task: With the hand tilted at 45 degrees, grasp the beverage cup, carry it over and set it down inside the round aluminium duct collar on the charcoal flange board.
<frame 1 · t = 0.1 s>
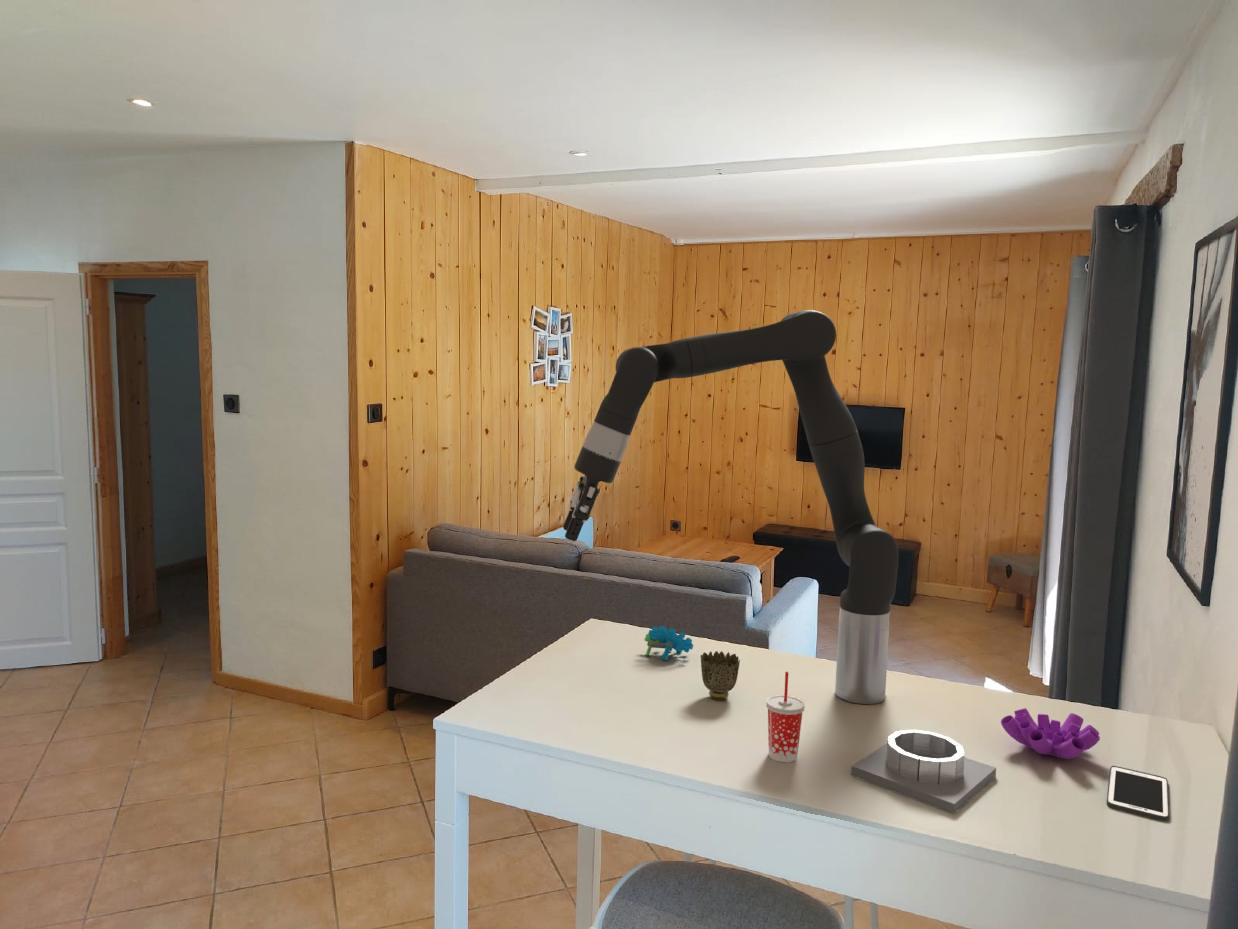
hand: (568, 534, 154), 31 cm above the table, fingers open, 8 cm apart
cell phone: (1137, 797, 128), on the table
beverage cup: (782, 757, 137), on the table
cup: (718, 698, 161), on the table
duct collar: (924, 756, 131), on the flange board, point 3 cm above the table
purple tube coral: (1047, 755, 140), on the table
flange board: (923, 776, 131), on the table
blue toy figure: (667, 657, 184), on the table
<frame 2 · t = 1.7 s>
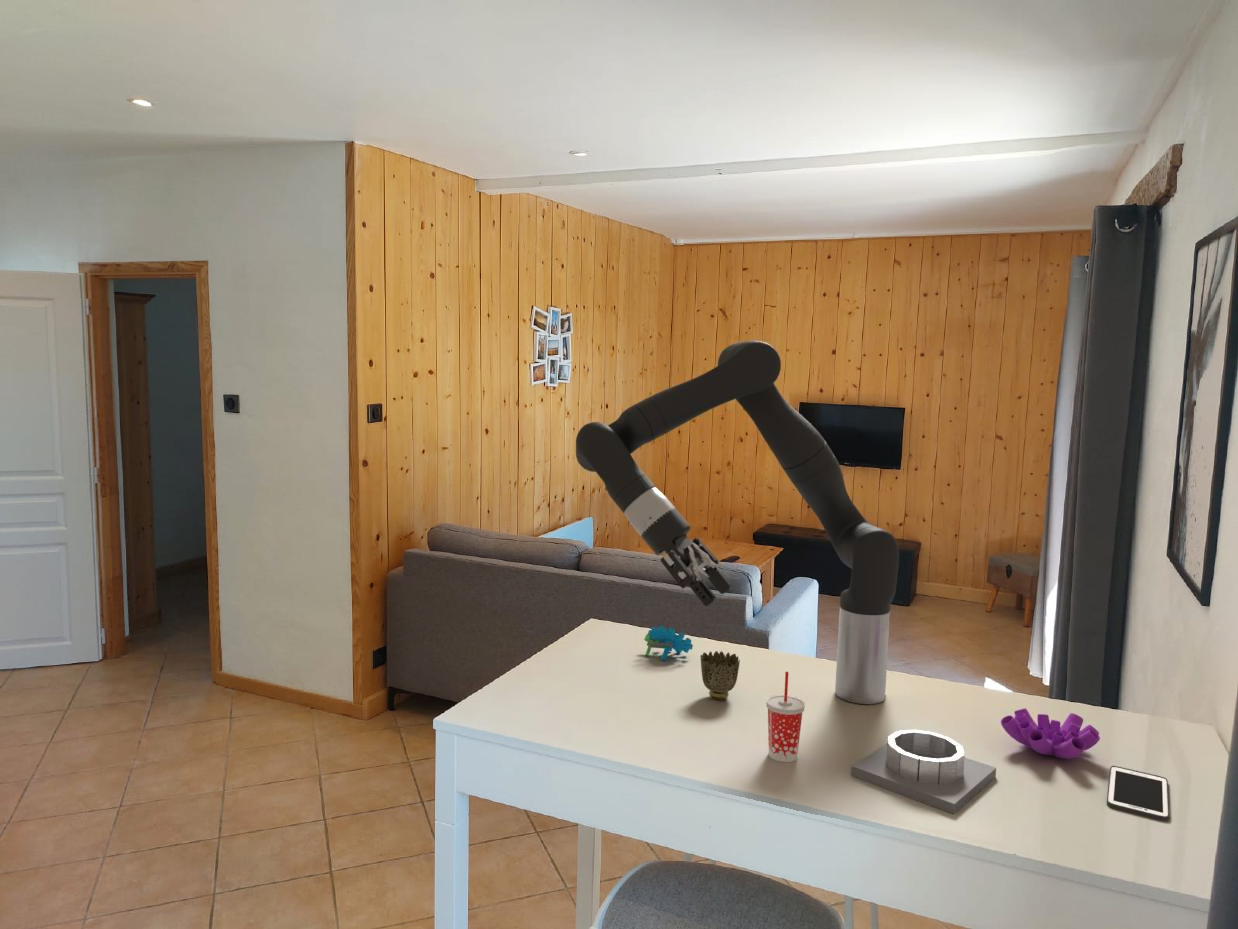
hand: (719, 596, 139), 25 cm above the table, fingers open, 8 cm apart
nothing on the table moved.
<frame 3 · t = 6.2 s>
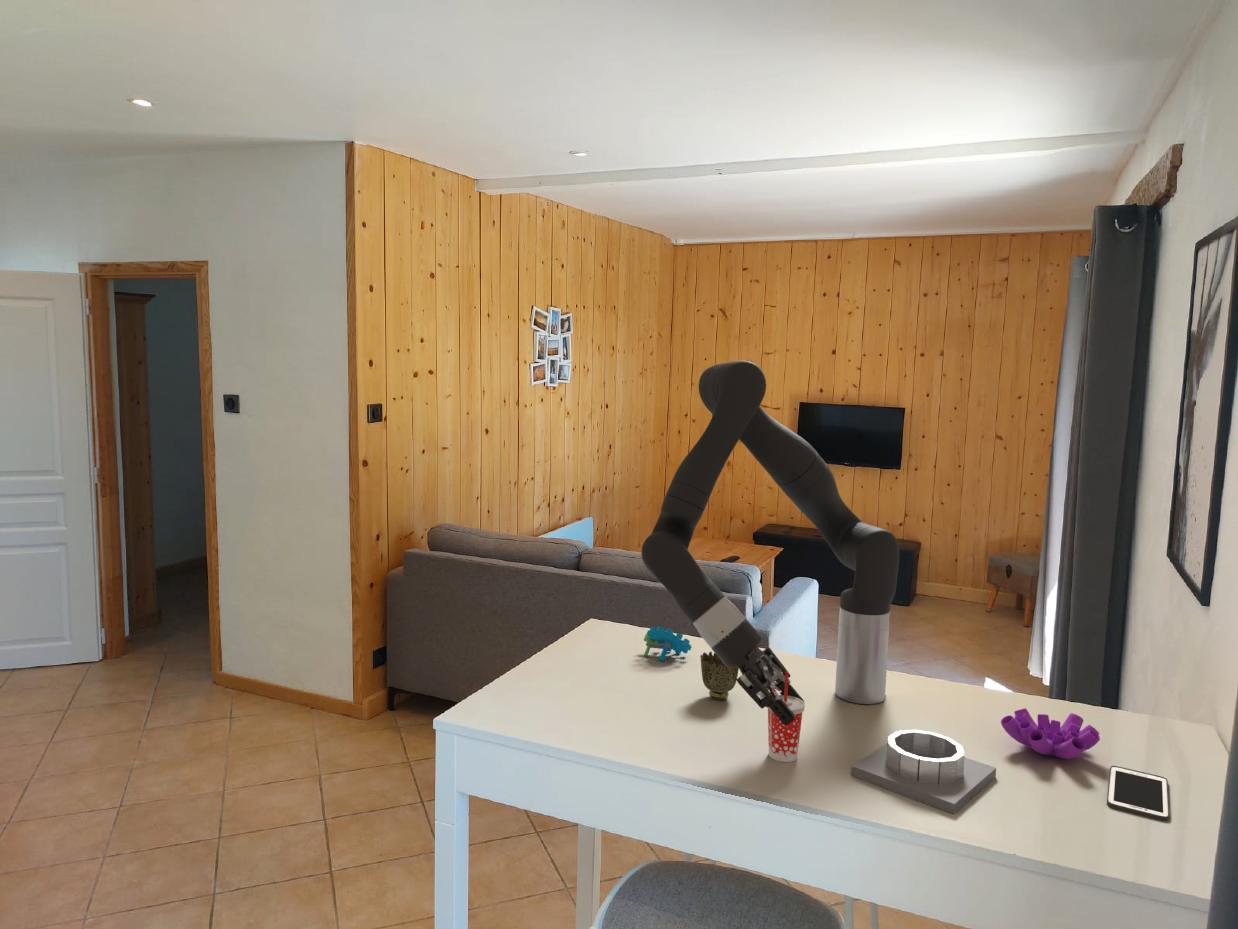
hand: (795, 714, 136), 7 cm above the table, fingers closed on beverage cup, 6 cm apart
beverage cup: (782, 756, 137), on the table, touching gripper
everything else where it was.
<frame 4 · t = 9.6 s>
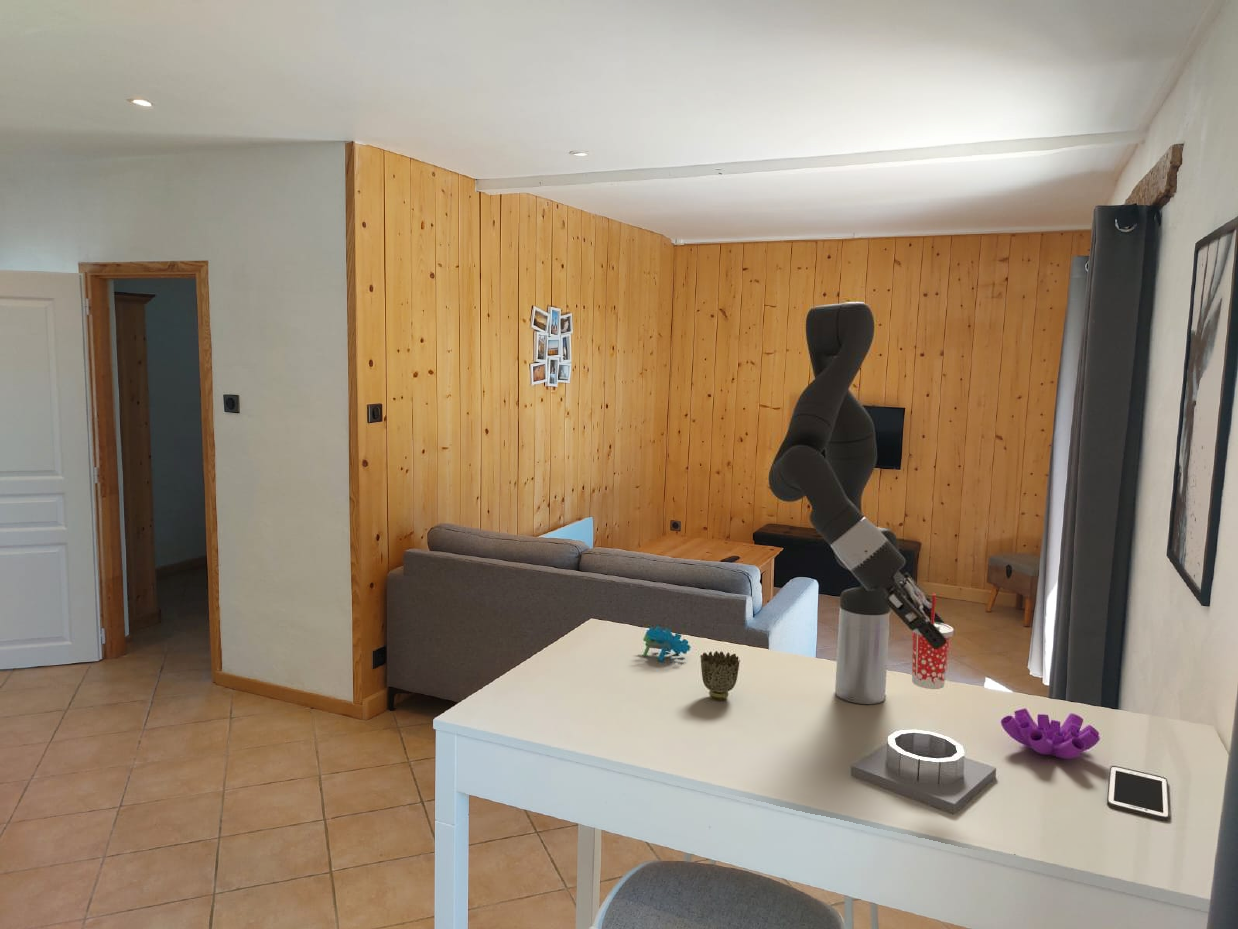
hand: (942, 638, 128), 22 cm above the table, fingers closed on beverage cup, 6 cm apart
beverage cup: (927, 684, 130), point 15 cm above the table, touching gripper
everything else where it was.
when the fingers open (10 cm above the table, at t = 13.0 s): beverage cup drops 1 cm, resting on flange board.
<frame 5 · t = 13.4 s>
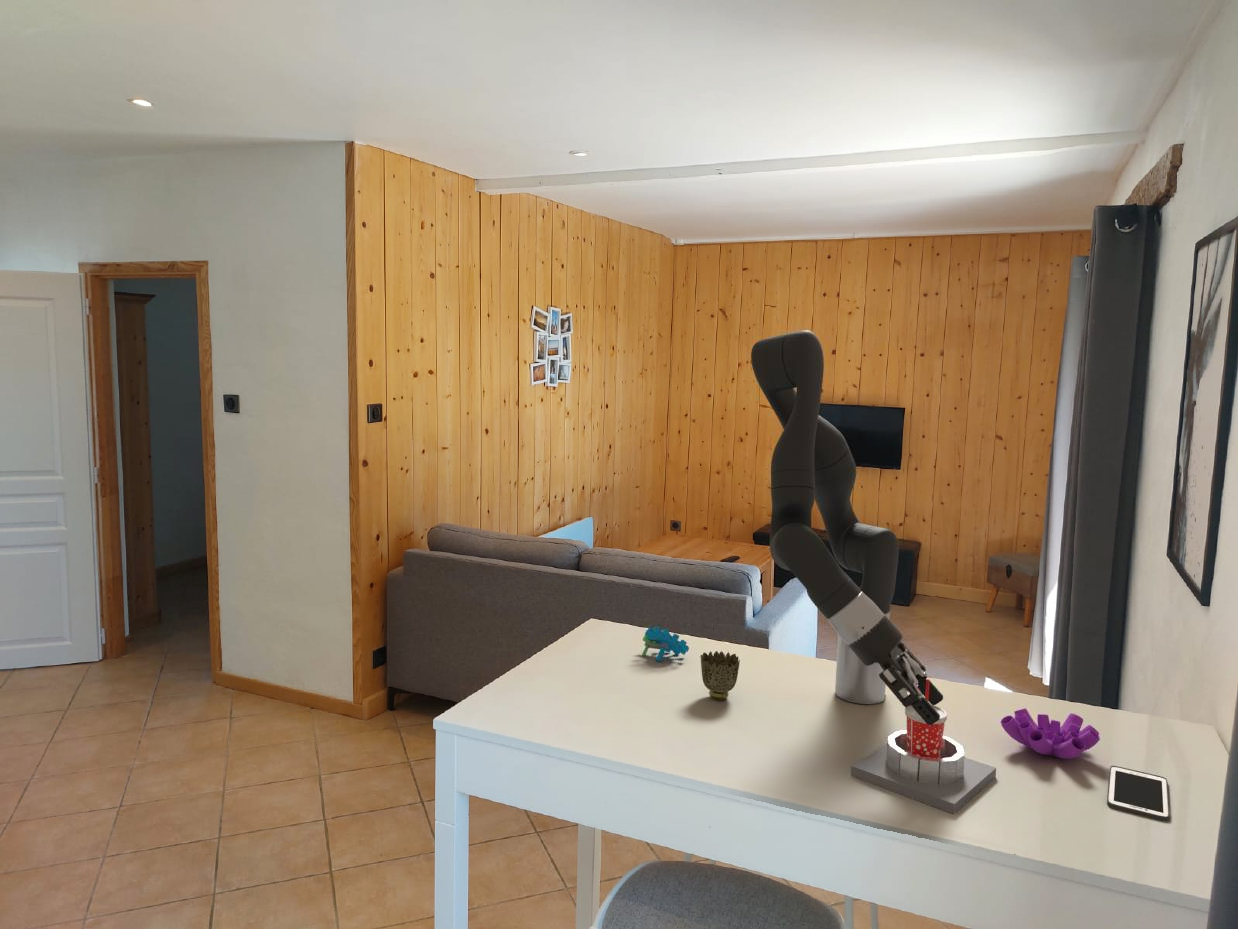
hand: (937, 711, 130), 11 cm above the table, fingers open, 8 cm apart
beverage cup: (922, 768, 131), point 1 cm above the table, touching flange board
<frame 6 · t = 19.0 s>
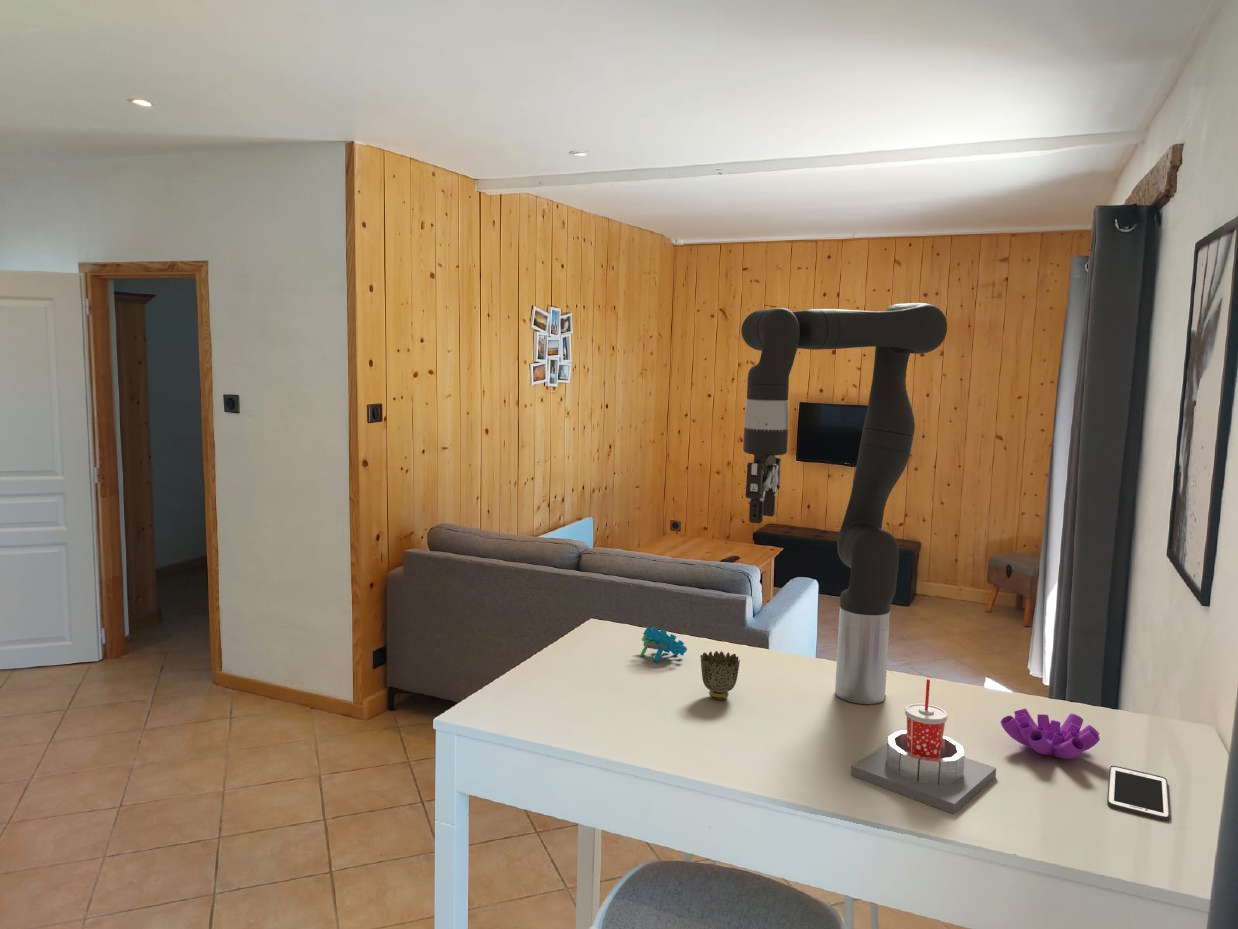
hand: (762, 519, 148), 36 cm above the table, fingers open, 8 cm apart
at the end: beverage cup 0.2 cm off-centre on the duct collar, point 1.3 cm above the duct collar's base; beverage cup tilted 0°; the gripper is holding nothing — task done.
